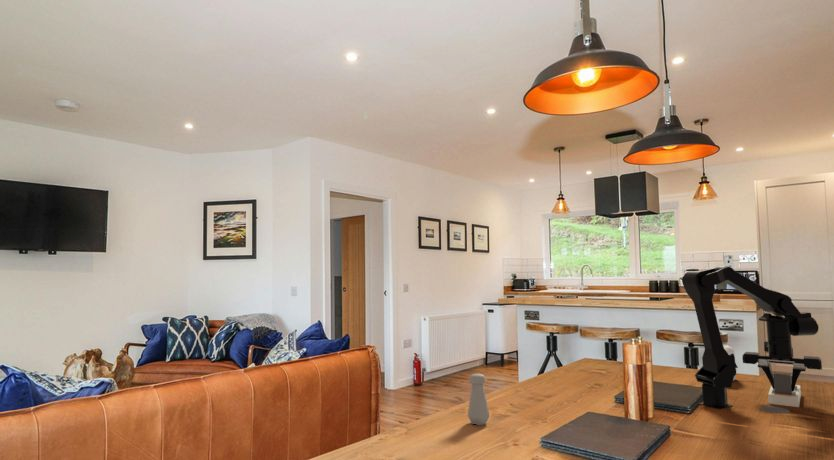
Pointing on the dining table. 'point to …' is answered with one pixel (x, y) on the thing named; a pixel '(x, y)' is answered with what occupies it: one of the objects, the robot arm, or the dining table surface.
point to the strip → (785, 397)
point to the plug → (782, 383)
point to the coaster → (774, 409)
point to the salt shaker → (478, 400)
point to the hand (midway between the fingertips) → (783, 390)
